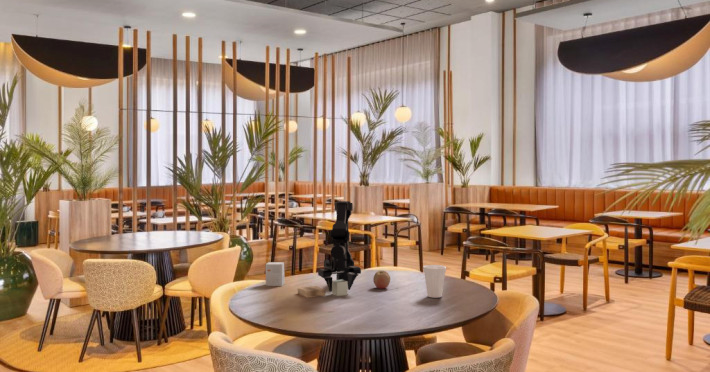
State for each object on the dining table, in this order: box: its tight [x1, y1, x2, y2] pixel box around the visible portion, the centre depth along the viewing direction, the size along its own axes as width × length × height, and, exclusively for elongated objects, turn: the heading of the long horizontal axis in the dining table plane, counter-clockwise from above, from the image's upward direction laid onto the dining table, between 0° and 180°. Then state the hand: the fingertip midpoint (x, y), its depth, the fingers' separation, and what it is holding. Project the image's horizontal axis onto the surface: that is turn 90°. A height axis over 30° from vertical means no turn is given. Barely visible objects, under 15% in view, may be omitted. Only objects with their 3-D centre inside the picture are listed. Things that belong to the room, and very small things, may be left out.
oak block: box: [297, 285, 326, 299], centre depth 258 cm, size 9×9×3 cm
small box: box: [265, 261, 285, 287], centre depth 280 cm, size 8×6×10 cm
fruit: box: [372, 270, 391, 290], centre depth 271 cm, size 8×8×8 cm
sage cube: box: [331, 279, 348, 297], centre depth 259 cm, size 5×5×6 cm
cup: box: [422, 264, 447, 299], centre depth 253 cm, size 10×10×13 cm
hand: (339, 290), depth 259 cm, fingers open, 9 cm apart
